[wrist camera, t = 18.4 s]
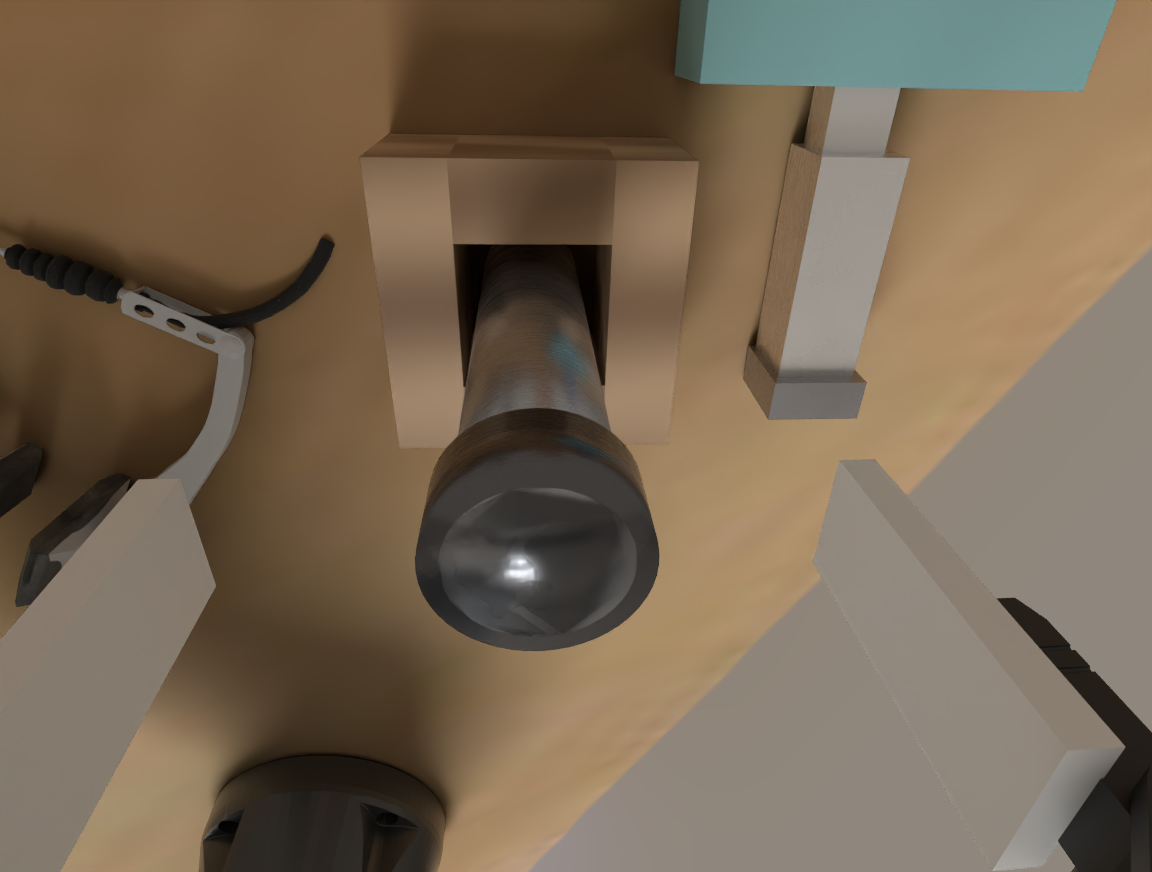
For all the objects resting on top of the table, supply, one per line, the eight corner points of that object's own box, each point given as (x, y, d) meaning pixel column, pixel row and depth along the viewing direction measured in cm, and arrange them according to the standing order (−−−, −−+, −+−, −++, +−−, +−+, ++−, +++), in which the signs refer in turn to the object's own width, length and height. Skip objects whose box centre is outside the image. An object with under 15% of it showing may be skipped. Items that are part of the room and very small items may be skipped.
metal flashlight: (583, 323, 28) (649, 646, 13) (477, 324, 28) (427, 655, 13) (587, 216, 26) (670, 464, 11) (471, 214, 25) (401, 470, 11)
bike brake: (197, 602, 34) (346, 237, 28) (132, 705, 27) (306, 262, 22) (-121, 502, 30) (-26, 52, 24) (-281, 596, 23) (-206, 18, 18)
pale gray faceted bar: (822, 377, 30) (856, 418, 27) (742, 378, 29) (768, 419, 26) (908, 16, 23) (969, 15, 20) (805, 14, 22) (849, 12, 19)
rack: (647, 383, 29) (668, 443, 25) (417, 385, 29) (399, 447, 25) (669, 137, 24) (699, 161, 20) (389, 133, 24) (359, 157, 19)
